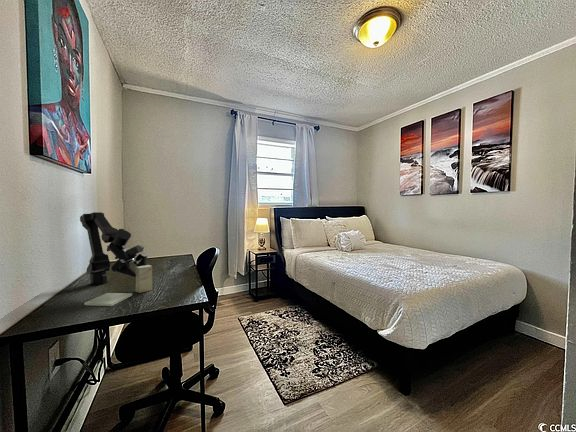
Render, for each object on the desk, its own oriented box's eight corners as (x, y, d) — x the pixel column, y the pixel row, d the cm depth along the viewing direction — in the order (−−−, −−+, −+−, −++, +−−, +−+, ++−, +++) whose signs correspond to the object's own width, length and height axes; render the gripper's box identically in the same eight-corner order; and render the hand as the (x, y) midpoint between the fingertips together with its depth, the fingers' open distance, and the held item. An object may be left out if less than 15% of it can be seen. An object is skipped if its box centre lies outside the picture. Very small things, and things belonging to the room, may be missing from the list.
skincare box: (139, 293, 114) (138, 268, 114) (135, 291, 117) (134, 266, 116) (152, 289, 119) (152, 265, 119) (148, 288, 122) (148, 264, 121)
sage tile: (84, 305, 100) (84, 302, 100) (107, 294, 112) (107, 292, 112) (111, 305, 99) (111, 303, 99) (132, 295, 111) (132, 293, 111)
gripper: (116, 242, 108) (140, 267, 108) (144, 237, 127) (164, 258, 126) (100, 259, 109) (124, 283, 108) (130, 252, 127) (150, 273, 127)
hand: (142, 273), depth 118 cm, fingers open, 9 cm apart
